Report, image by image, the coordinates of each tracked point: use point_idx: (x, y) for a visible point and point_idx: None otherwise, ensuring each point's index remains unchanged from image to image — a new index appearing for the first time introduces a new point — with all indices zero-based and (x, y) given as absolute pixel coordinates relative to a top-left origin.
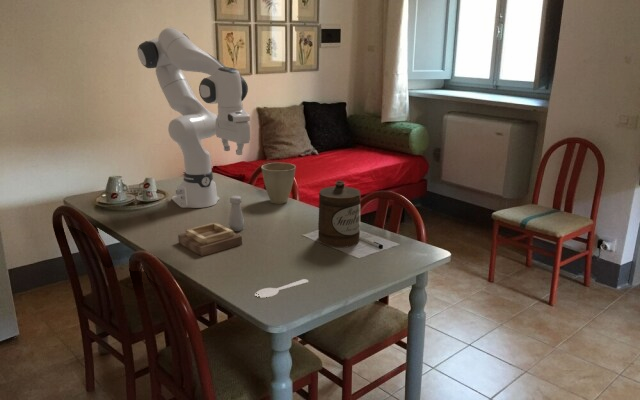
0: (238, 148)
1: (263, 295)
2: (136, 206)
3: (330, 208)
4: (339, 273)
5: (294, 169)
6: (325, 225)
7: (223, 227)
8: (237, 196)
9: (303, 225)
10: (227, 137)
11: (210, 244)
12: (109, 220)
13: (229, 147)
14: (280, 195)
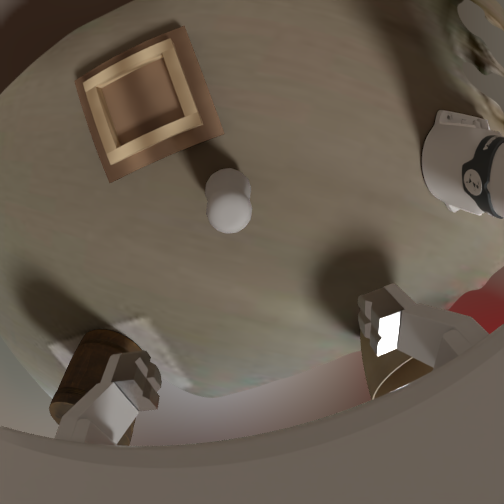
0: (84, 400)
1: None
2: (463, 43)
3: (59, 386)
4: (5, 302)
5: None
6: (76, 356)
7: (145, 140)
8: (227, 221)
9: (201, 335)
10: (268, 473)
11: (84, 101)
12: None
13: (370, 344)
14: (363, 338)
